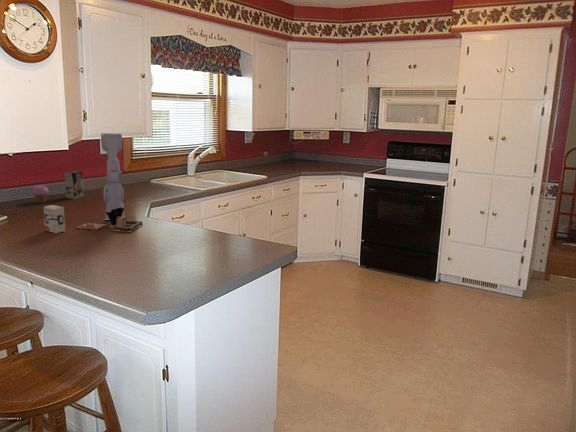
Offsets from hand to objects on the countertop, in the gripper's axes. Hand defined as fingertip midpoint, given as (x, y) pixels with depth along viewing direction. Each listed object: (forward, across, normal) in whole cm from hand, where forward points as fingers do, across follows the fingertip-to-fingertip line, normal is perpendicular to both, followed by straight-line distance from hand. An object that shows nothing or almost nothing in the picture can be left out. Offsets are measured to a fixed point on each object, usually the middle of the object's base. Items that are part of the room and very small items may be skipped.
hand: (115, 223), depth 229 cm
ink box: (+2, -15, +22) cm, 27 cm away
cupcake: (+2, +44, +67) cm, 80 cm away
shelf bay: (+2, 0, -6) cm, 6 cm away
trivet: (+2, -3, +11) cm, 11 cm away
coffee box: (+2, +65, +58) cm, 87 cm away
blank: (+2, 0, 0) cm, 2 cm away
